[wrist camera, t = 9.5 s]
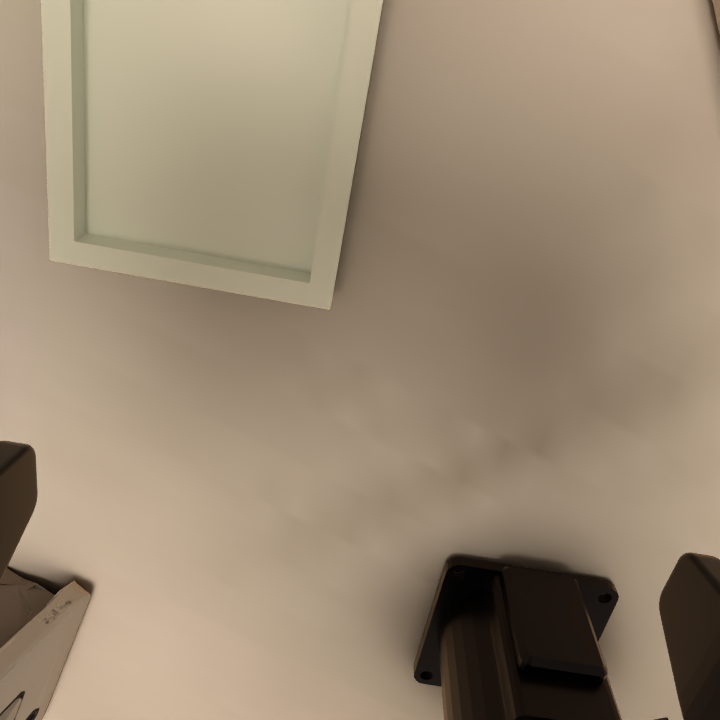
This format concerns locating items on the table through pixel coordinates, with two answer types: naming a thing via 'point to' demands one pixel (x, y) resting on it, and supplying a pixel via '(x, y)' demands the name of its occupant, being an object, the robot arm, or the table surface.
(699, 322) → the table surface
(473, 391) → the table surface
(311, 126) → the tray
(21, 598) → the electrical switch
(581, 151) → the table surface
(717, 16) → the electronic device
